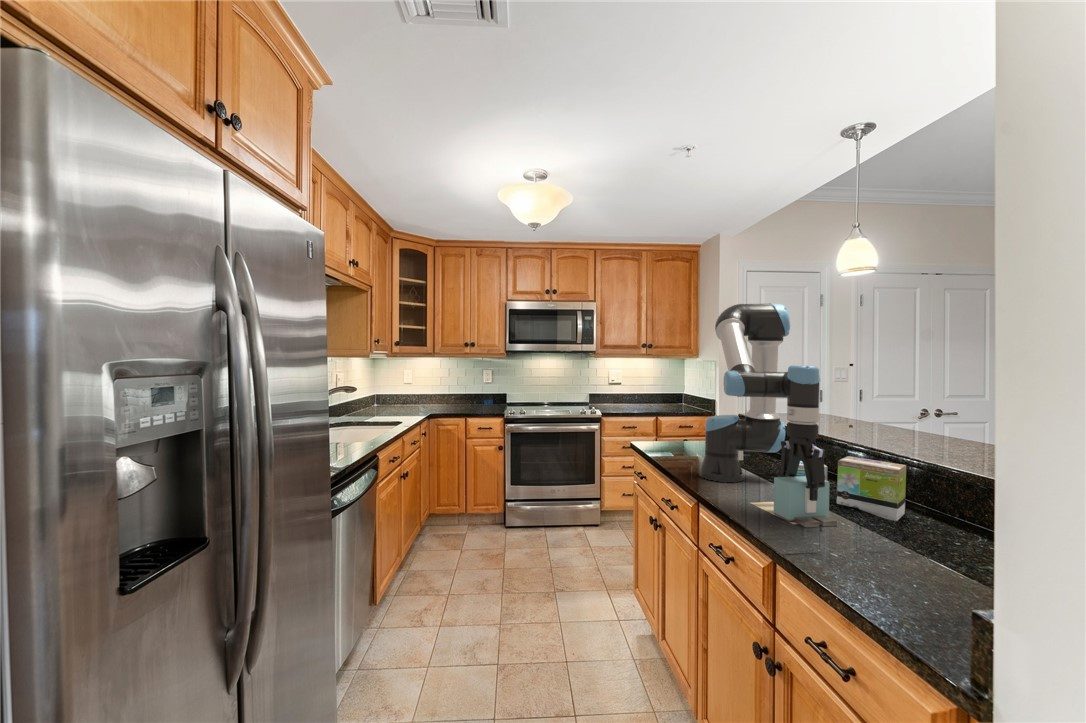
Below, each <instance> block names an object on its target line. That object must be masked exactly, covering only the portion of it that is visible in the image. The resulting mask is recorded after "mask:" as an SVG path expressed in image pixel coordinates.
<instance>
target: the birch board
mask: <svg viewBox="0 0 1086 723" xmlns="http://www.w3.org/2000/svg"><path fill="white" fill-rule="evenodd" d="M750 504H751V505H753V506H754V507H757V508H759V509H761V510H763V511H765V512H768V513H770V514H772V515H774V516H776V517H778V518H780V519H782V520H783V521H785V522H788V523H790V524H792V525H799V524H798V523H796V522H794V521H788V520H786V519H783V518H781V517H779V516H777V515H775V514H774V501H761V502H750Z"/></svg>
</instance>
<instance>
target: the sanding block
mask: <svg viewBox="0 0 1086 723" xmlns="http://www.w3.org/2000/svg"><path fill="white" fill-rule="evenodd" d="M812 483H813V482H812ZM806 486H808V484H807V479H806V476H796V477H784V476H774V477H773V502H774V514H775V515H777V516H779V517H781V518H780V519H782V518H783V519H782V520H784V519H786V520H788V521H794V517H810V518H812V516H827V517H829V518H830V481H828V480H827V481H826V480H825V487H821V488H818V499H817V501H816V512H814V513H806V512H805V487H806ZM775 515H774V516H775ZM777 516H776V517H777ZM779 517H778V518H779ZM786 520H785V521H786ZM788 521H787V522H788Z"/></svg>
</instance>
